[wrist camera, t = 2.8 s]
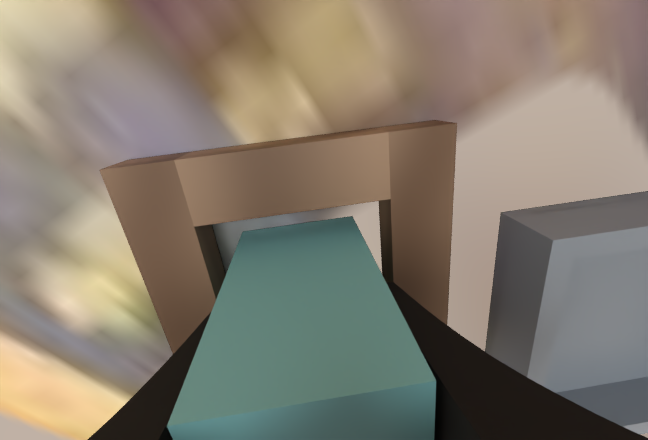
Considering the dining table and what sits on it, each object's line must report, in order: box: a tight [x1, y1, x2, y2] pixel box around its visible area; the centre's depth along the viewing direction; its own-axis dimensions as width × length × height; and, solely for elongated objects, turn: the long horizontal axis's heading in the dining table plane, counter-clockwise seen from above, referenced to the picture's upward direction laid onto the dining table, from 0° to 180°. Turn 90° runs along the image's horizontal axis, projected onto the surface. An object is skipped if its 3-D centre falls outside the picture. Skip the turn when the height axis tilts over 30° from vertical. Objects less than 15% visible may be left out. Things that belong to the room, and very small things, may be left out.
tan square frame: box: [100, 120, 457, 354], centre depth 11 cm, size 10×10×2 cm
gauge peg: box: [167, 216, 436, 440], centre depth 8 cm, size 4×4×7 cm
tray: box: [485, 191, 648, 434], centre depth 13 cm, size 11×11×2 cm
